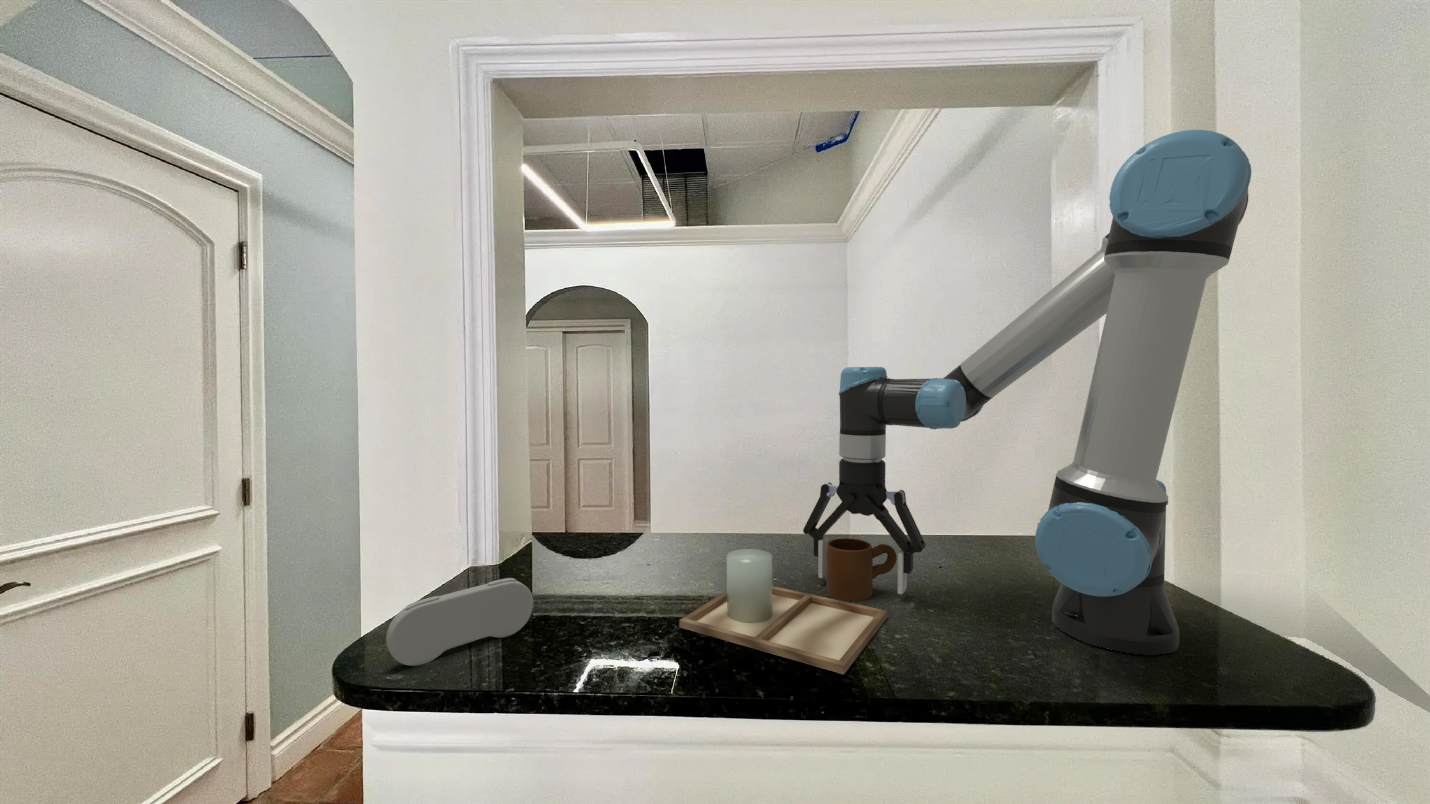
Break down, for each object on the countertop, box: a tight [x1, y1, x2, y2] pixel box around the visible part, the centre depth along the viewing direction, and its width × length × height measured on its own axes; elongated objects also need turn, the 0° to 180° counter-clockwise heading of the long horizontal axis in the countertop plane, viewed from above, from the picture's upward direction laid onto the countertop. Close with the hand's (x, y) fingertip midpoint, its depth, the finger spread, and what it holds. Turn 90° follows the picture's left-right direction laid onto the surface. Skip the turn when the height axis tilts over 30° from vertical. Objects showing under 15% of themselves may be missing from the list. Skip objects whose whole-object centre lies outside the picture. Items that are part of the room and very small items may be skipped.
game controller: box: [385, 577, 534, 667], centre depth 79 cm, size 20×2×8 cm, turn 133°
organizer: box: [678, 585, 888, 675], centre depth 84 cm, size 25×19×2 cm
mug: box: [825, 538, 898, 602], centre depth 95 cm, size 12×8×9 cm, turn 95°
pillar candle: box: [726, 548, 773, 623], centre depth 87 cm, size 7×7×9 cm
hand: (861, 583), depth 95 cm, fingers open, 13 cm apart
